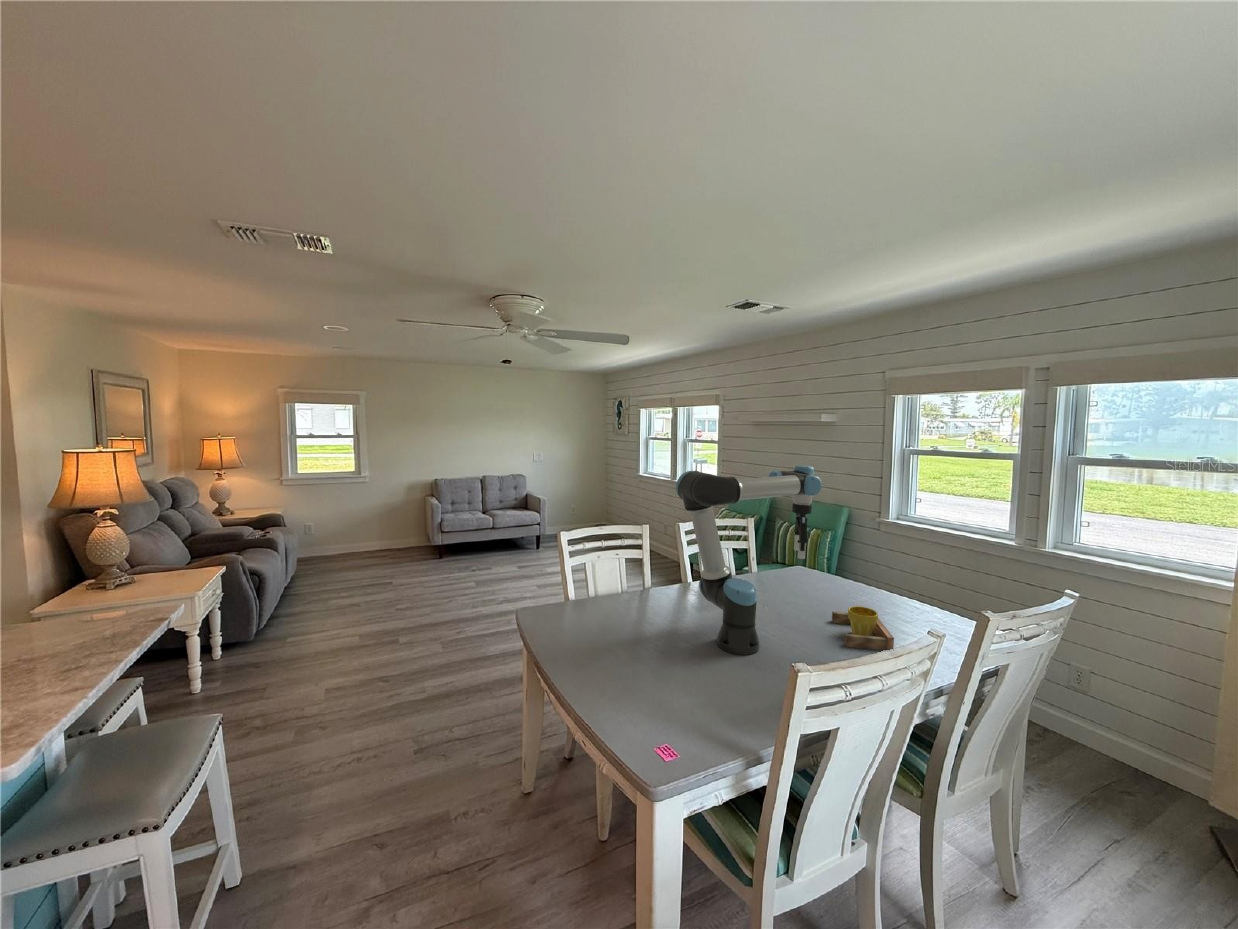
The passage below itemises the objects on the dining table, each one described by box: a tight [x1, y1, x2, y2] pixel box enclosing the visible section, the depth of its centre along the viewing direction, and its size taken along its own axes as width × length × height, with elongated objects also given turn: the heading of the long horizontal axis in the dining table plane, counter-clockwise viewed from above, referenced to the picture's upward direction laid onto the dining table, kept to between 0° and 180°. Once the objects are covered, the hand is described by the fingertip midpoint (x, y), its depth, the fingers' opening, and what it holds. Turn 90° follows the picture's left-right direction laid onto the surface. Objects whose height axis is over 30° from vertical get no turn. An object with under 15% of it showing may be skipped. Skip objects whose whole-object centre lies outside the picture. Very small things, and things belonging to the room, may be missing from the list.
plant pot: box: [847, 605, 879, 636], centre depth 191 cm, size 10×10×10 cm
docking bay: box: [831, 611, 895, 651], centre depth 191 cm, size 16×24×5 cm, turn 168°
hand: (799, 554), depth 203 cm, fingers open, 13 cm apart
